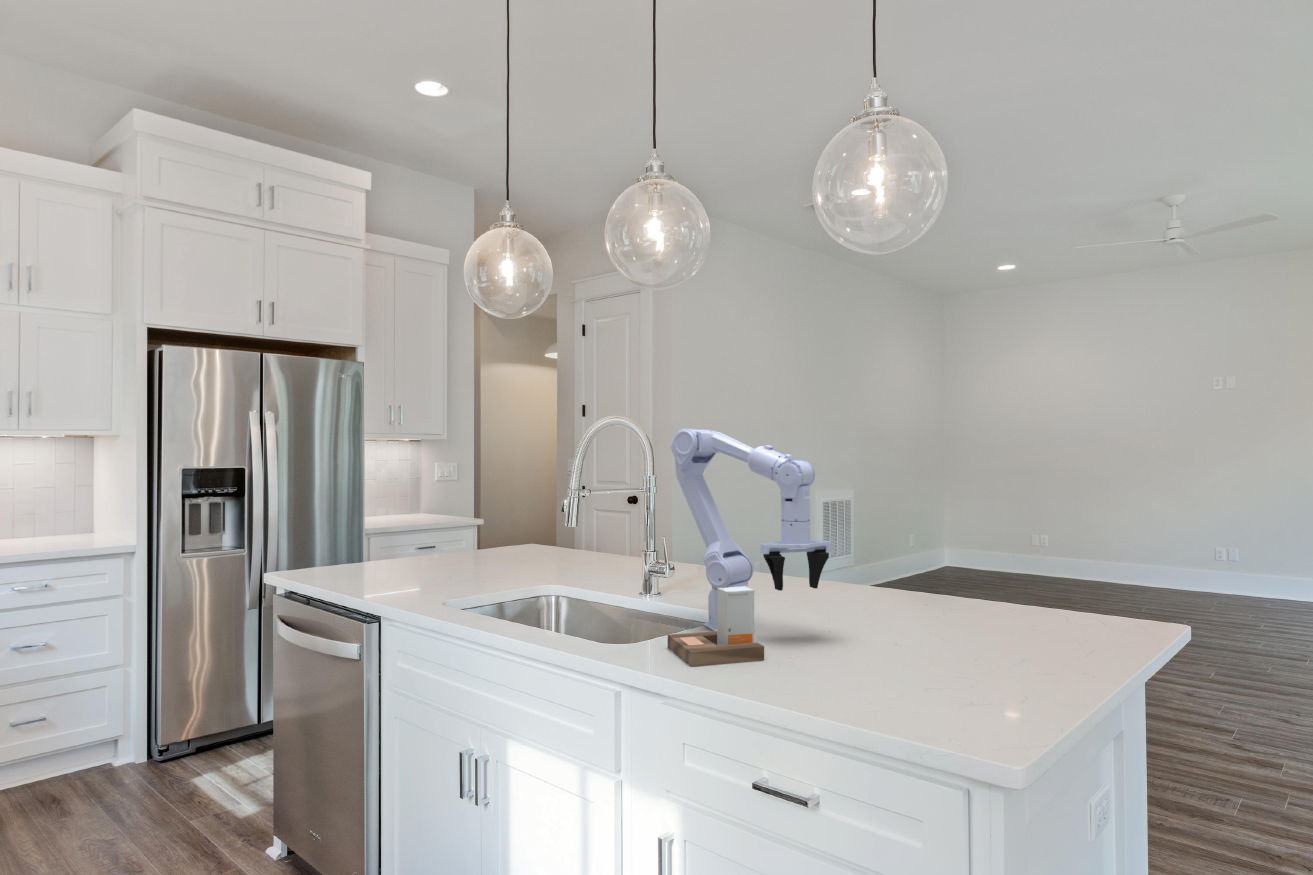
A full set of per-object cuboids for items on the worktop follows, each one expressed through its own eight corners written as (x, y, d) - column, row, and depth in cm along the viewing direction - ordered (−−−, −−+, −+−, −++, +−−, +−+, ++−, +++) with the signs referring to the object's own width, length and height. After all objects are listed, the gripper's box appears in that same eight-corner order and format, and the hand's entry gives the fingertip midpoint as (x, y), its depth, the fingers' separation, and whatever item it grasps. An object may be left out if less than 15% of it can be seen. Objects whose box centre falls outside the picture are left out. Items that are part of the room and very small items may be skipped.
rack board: (667, 647, 151) (667, 633, 151) (735, 642, 155) (734, 628, 155) (691, 666, 137) (691, 651, 137) (764, 660, 141) (764, 645, 141)
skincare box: (725, 656, 144) (725, 591, 144) (716, 650, 148) (716, 587, 149) (755, 653, 146) (755, 589, 146) (746, 648, 150) (745, 585, 150)
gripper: (770, 523, 150) (771, 594, 150) (838, 520, 154) (839, 589, 154) (755, 520, 157) (756, 588, 156) (820, 518, 161) (821, 584, 160)
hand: (796, 588), depth 156 cm, fingers open, 7 cm apart
